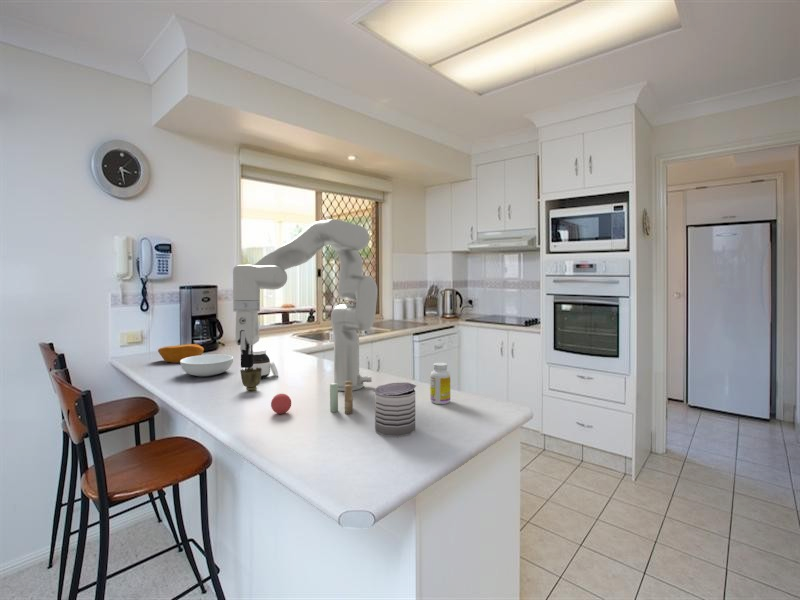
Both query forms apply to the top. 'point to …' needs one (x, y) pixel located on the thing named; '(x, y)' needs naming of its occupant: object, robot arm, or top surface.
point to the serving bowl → (206, 364)
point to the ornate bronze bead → (251, 378)
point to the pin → (348, 399)
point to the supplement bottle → (440, 384)
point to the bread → (180, 352)
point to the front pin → (333, 397)
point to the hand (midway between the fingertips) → (246, 367)
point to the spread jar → (263, 363)
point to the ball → (281, 403)
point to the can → (395, 409)
